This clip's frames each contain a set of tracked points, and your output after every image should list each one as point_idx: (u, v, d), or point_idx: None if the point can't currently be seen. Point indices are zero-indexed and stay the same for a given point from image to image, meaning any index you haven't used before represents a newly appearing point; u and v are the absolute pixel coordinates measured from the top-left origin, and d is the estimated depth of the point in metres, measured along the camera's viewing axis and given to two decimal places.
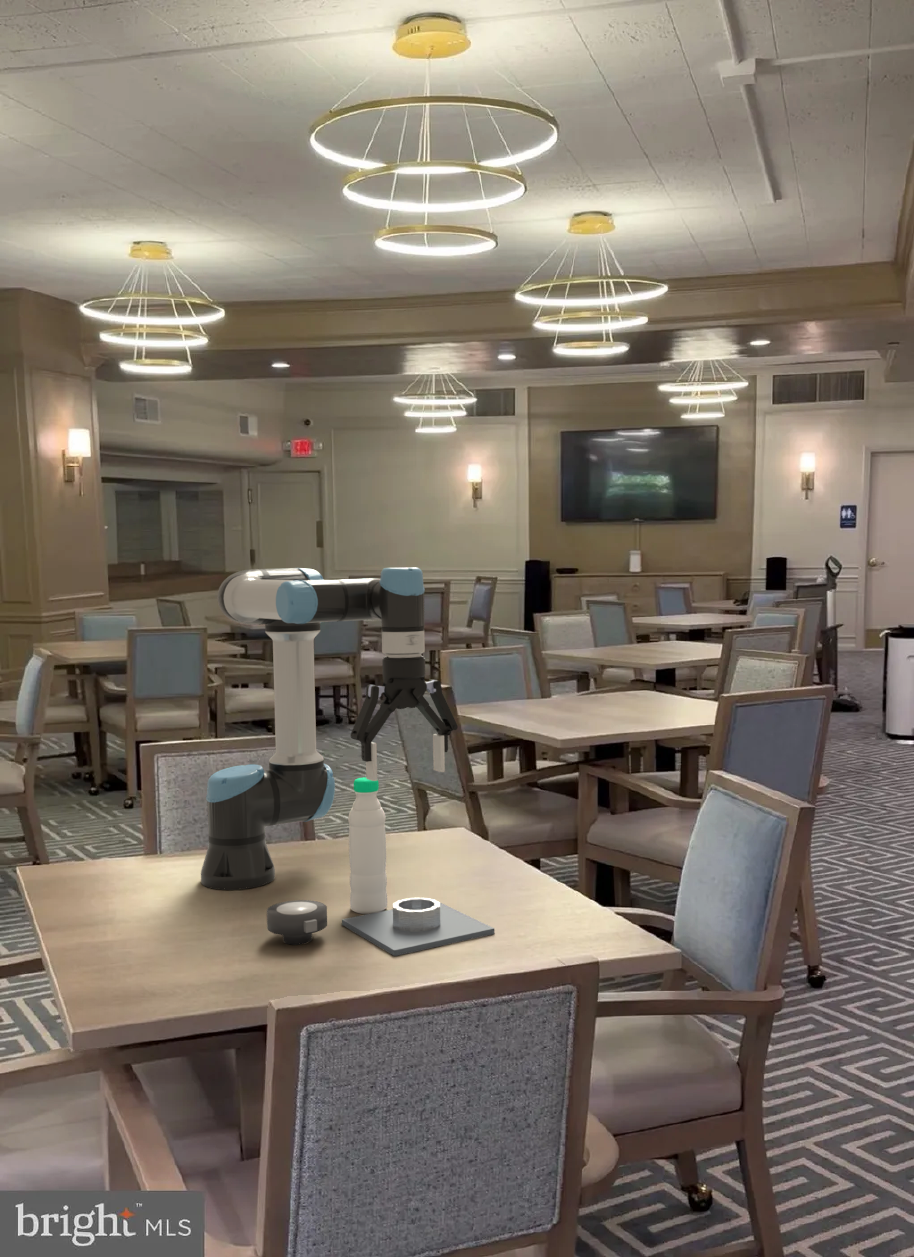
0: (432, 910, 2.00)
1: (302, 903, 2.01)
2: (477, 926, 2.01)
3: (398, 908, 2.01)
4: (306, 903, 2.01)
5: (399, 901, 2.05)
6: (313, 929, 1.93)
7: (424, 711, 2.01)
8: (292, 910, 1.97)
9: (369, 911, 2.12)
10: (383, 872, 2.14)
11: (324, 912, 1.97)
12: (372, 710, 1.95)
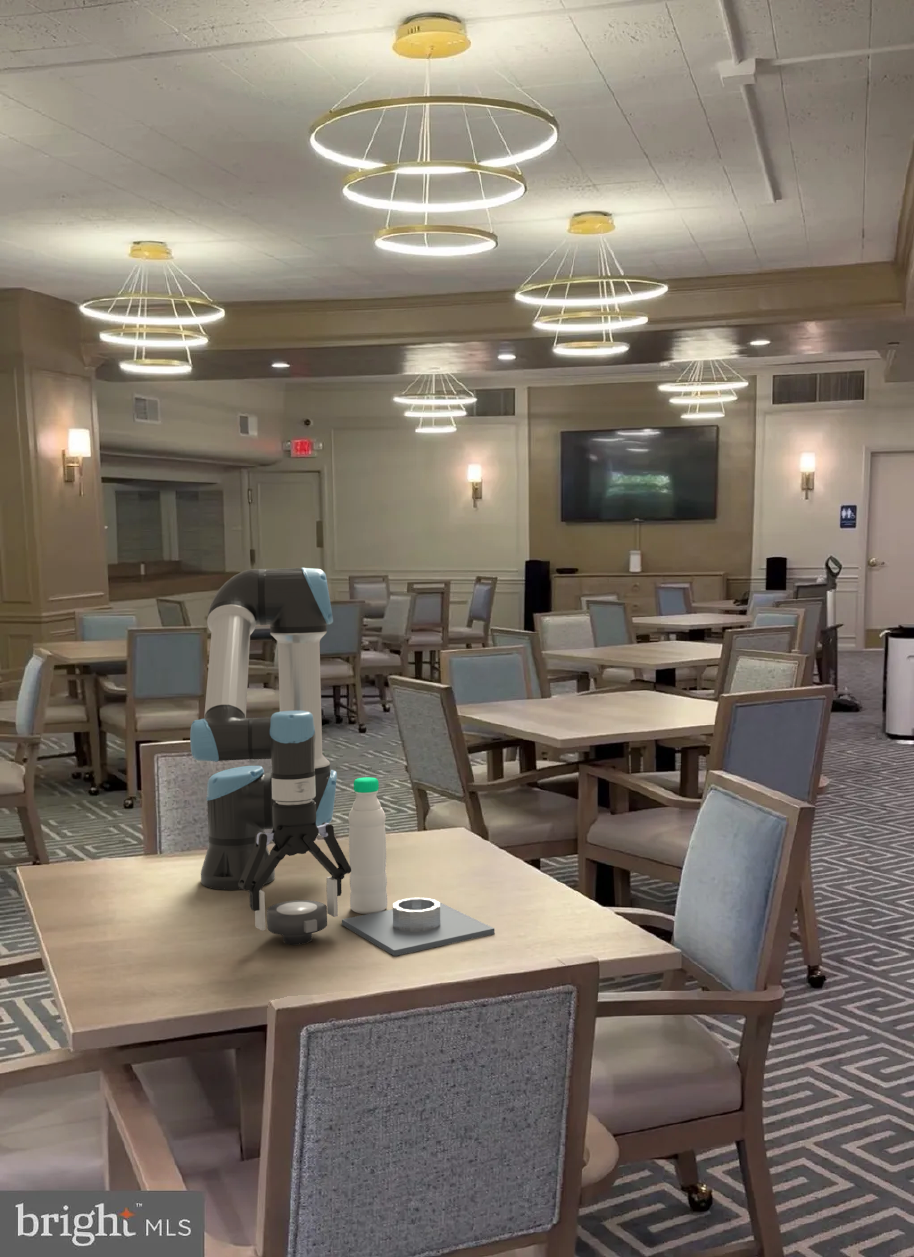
0: (432, 910, 2.00)
1: (302, 903, 2.01)
2: (477, 926, 2.01)
3: (398, 908, 2.01)
4: (306, 903, 2.01)
5: (399, 901, 2.05)
6: (313, 929, 1.93)
7: (316, 856, 1.99)
8: (292, 910, 1.97)
9: (369, 911, 2.12)
10: (383, 872, 2.14)
11: (324, 912, 1.97)
12: (260, 859, 1.93)
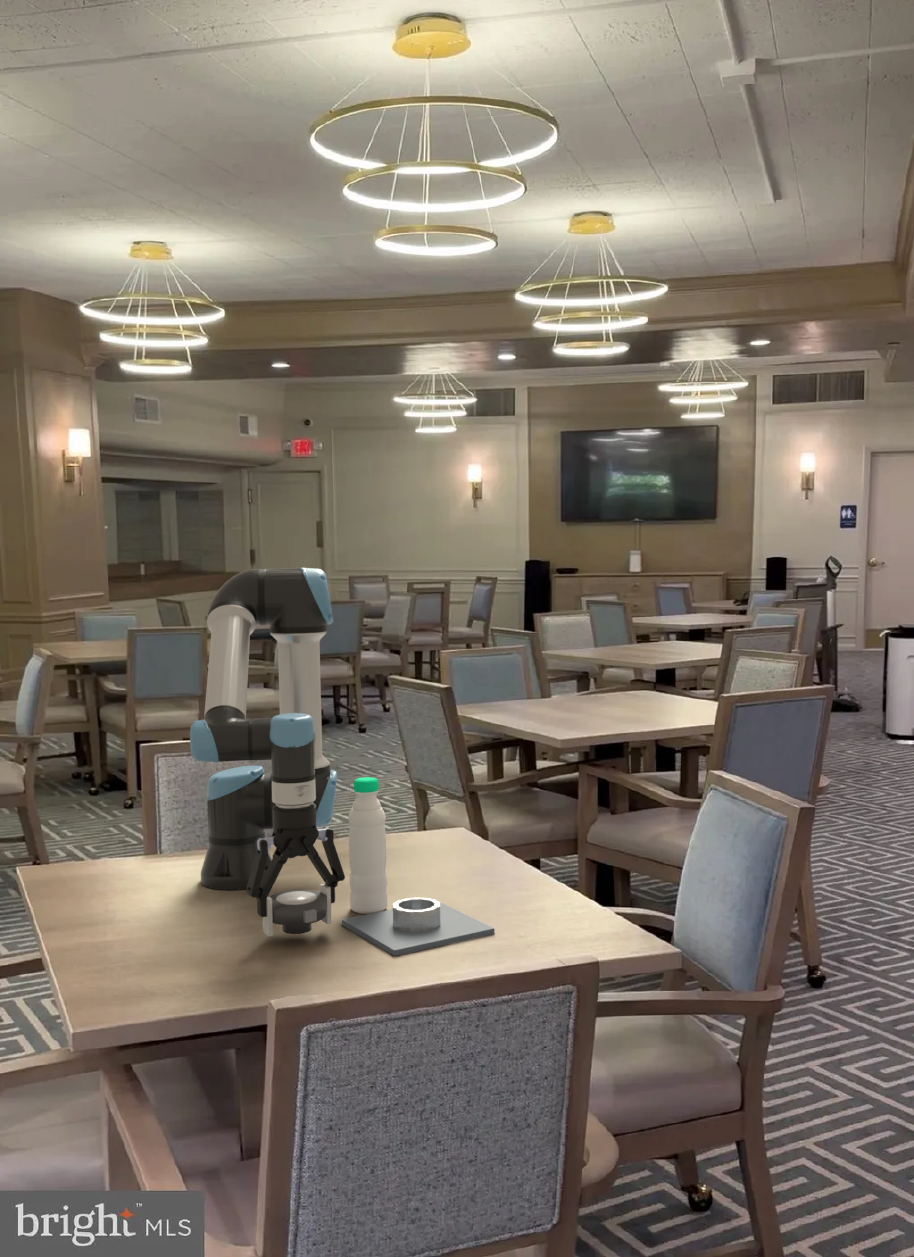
0: (432, 910, 2.00)
1: (302, 892, 2.01)
2: (477, 926, 2.01)
3: (398, 908, 2.01)
4: (306, 893, 2.01)
5: (399, 901, 2.05)
6: (313, 919, 1.94)
7: (313, 860, 1.99)
8: (292, 900, 1.97)
9: (369, 911, 2.12)
10: (383, 872, 2.14)
11: (324, 902, 1.97)
12: (263, 865, 1.94)
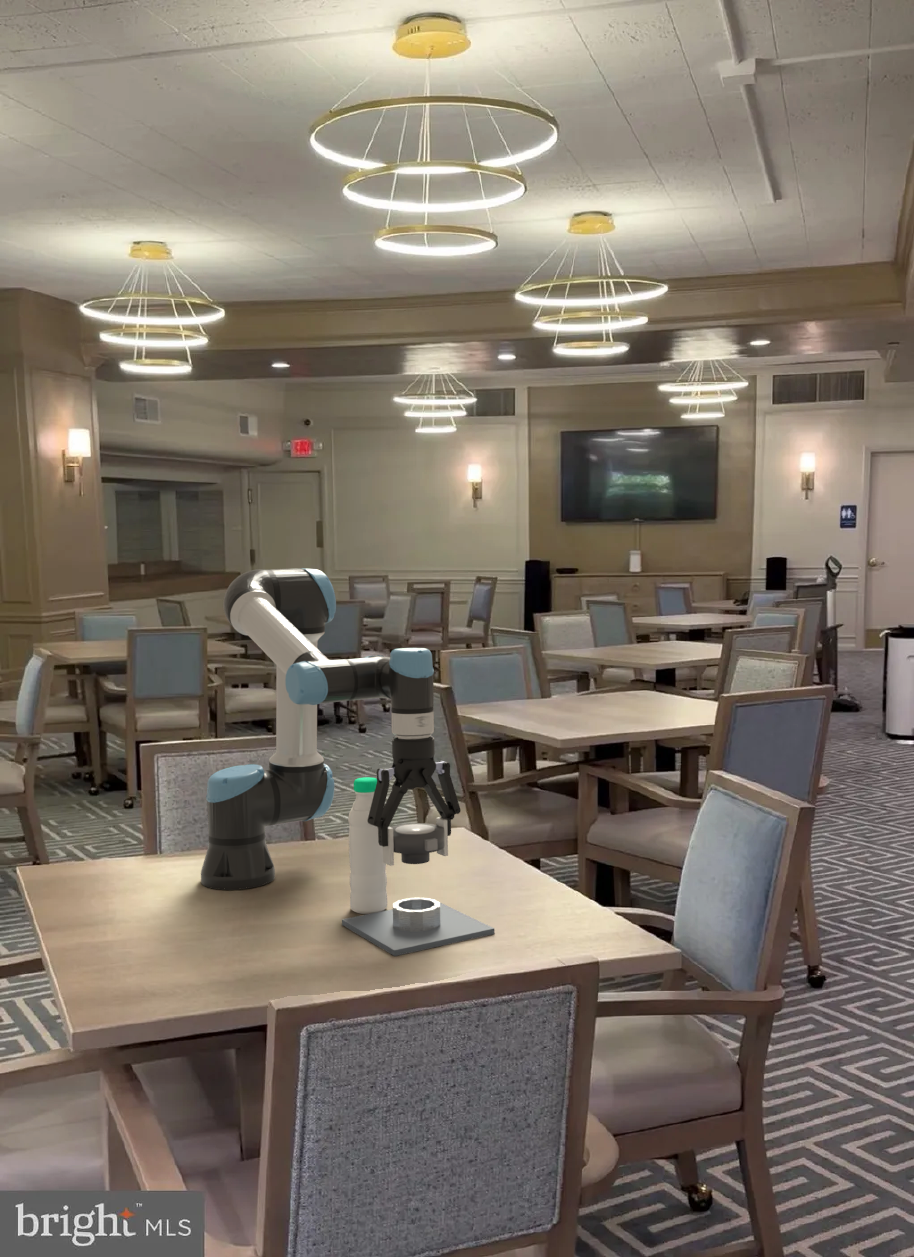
0: (432, 910, 2.00)
1: (419, 825, 2.04)
2: (477, 926, 2.01)
3: (398, 908, 2.01)
4: (423, 825, 2.04)
5: (399, 901, 2.05)
6: (434, 848, 1.97)
7: (430, 792, 2.03)
8: (411, 830, 2.01)
9: (369, 911, 2.12)
10: (383, 872, 2.14)
11: (442, 832, 2.01)
12: (385, 794, 1.97)
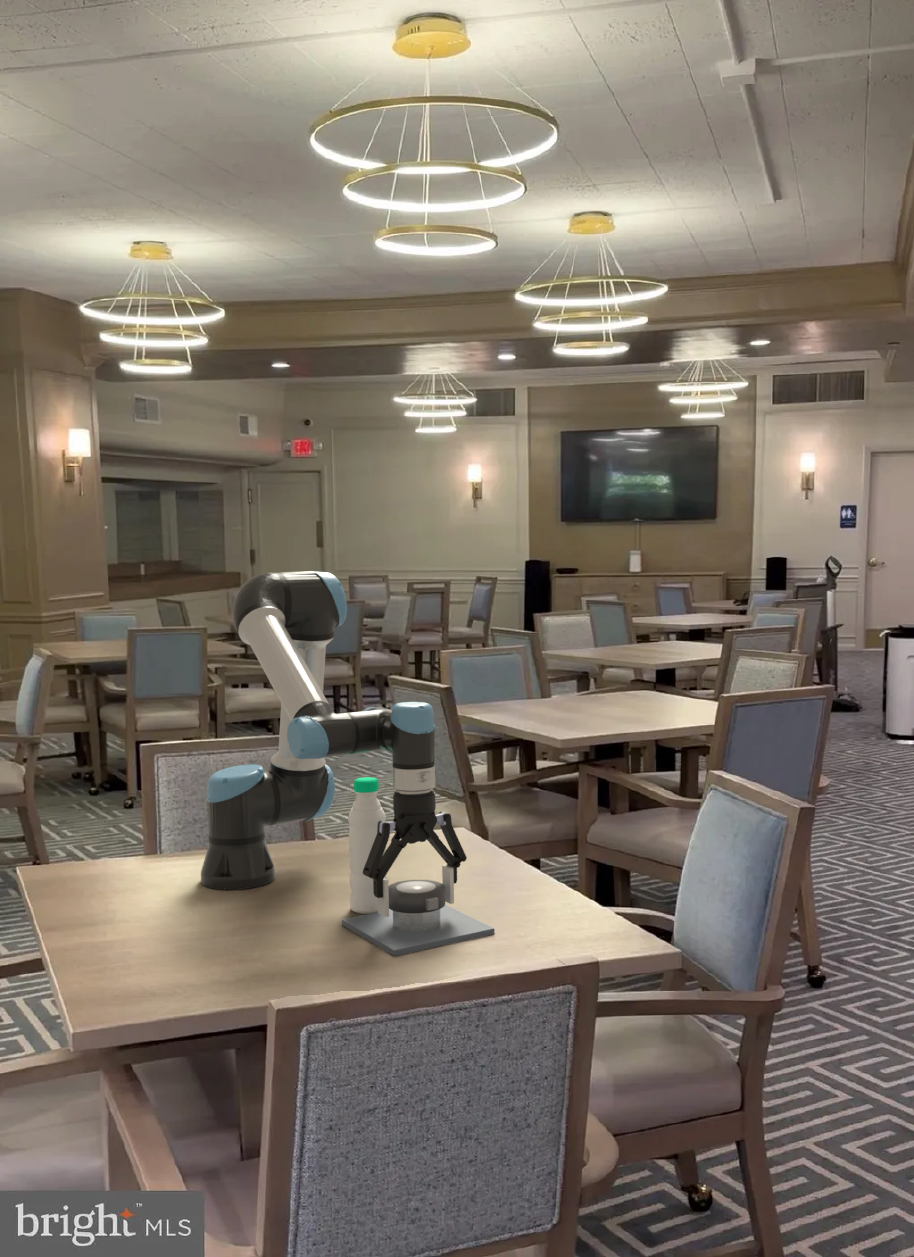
0: None
1: (419, 882, 2.05)
2: (477, 926, 2.01)
3: None
4: (424, 883, 2.05)
5: None
6: (435, 907, 1.98)
7: (434, 844, 2.04)
8: (412, 889, 2.01)
9: (369, 911, 2.12)
10: None
11: (443, 891, 2.01)
12: (383, 847, 1.97)
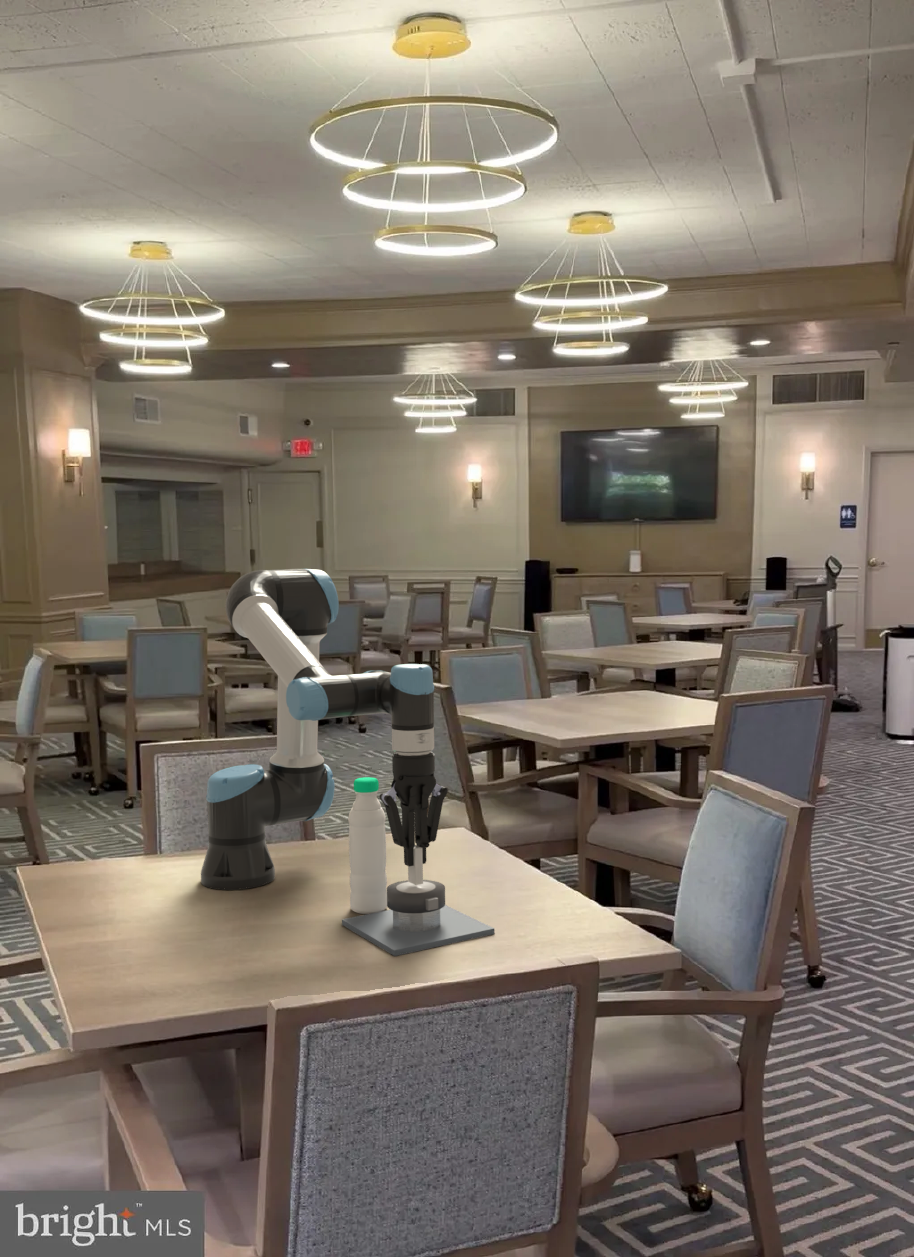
0: None
1: None
2: (477, 926, 2.01)
3: None
4: (424, 883, 2.05)
5: None
6: (435, 907, 1.98)
7: (419, 812, 2.02)
8: (412, 889, 2.01)
9: (369, 911, 2.12)
10: (383, 872, 2.14)
11: (443, 891, 2.01)
12: (398, 816, 1.99)
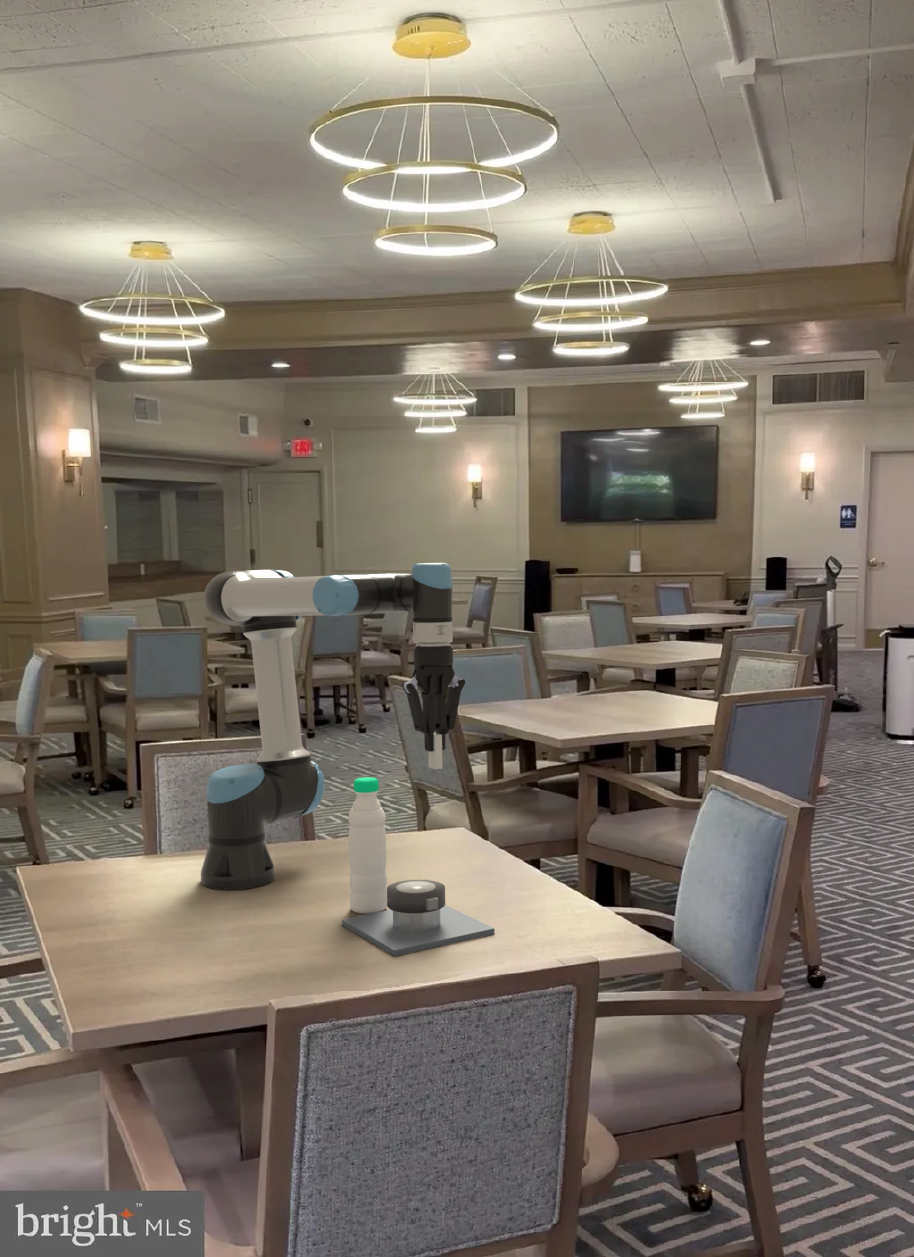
0: None
1: (419, 882, 2.05)
2: (477, 926, 2.01)
3: None
4: (424, 883, 2.05)
5: None
6: (435, 907, 1.98)
7: (438, 701, 2.16)
8: (412, 889, 2.01)
9: (369, 911, 2.12)
10: (383, 872, 2.14)
11: (443, 891, 2.01)
12: (419, 703, 2.13)
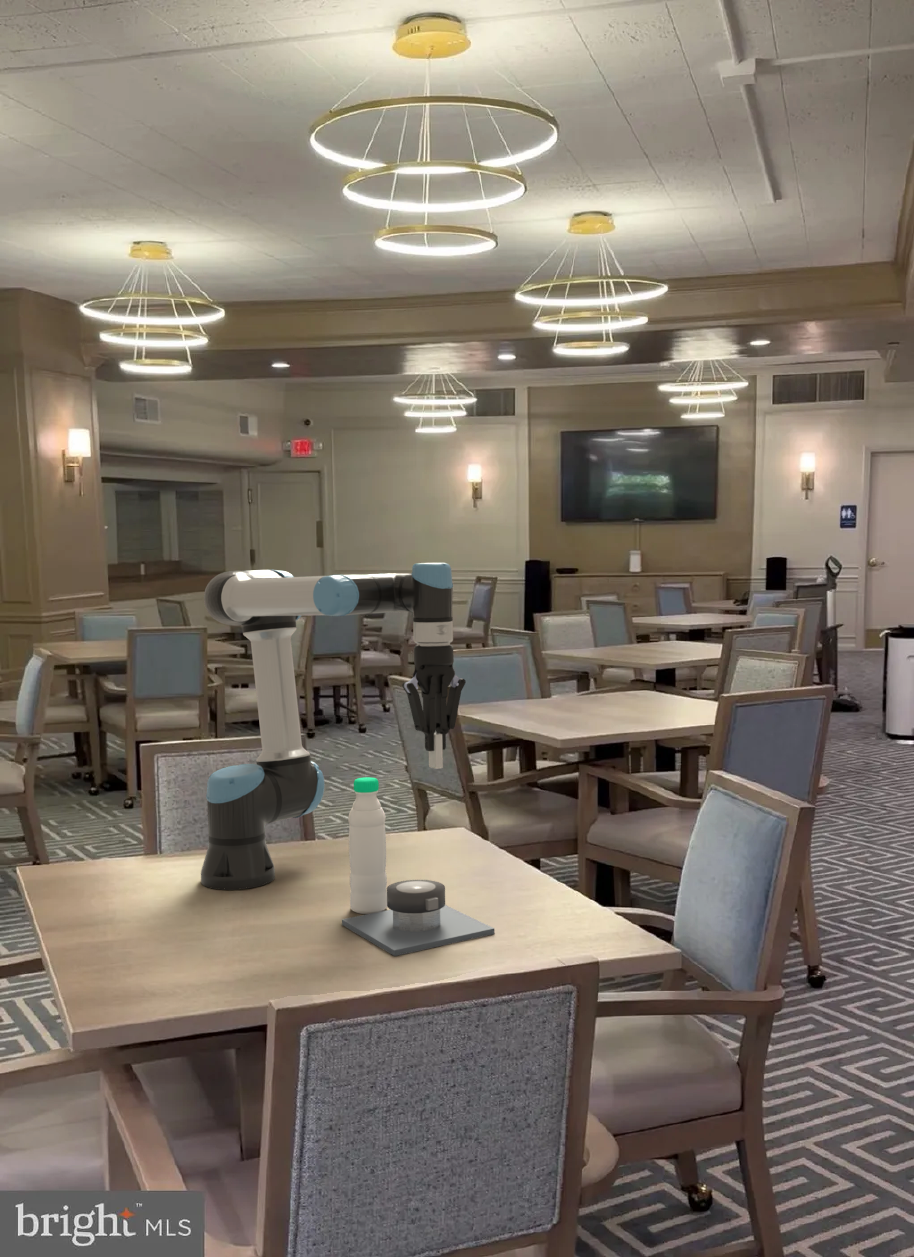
0: None
1: (419, 882, 2.05)
2: (477, 926, 2.01)
3: None
4: (424, 883, 2.05)
5: None
6: (435, 907, 1.98)
7: (439, 700, 2.16)
8: (412, 889, 2.01)
9: (369, 911, 2.12)
10: (383, 872, 2.14)
11: (443, 891, 2.01)
12: (419, 702, 2.13)
